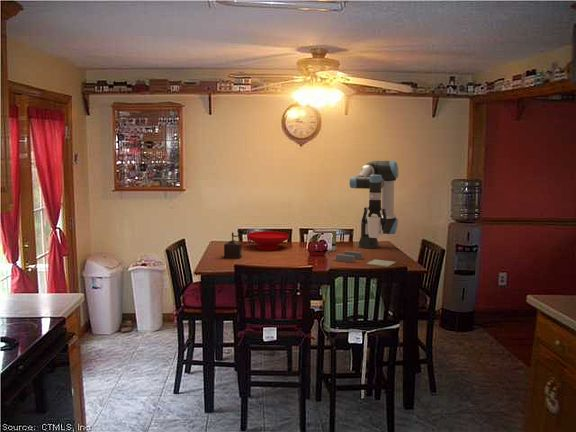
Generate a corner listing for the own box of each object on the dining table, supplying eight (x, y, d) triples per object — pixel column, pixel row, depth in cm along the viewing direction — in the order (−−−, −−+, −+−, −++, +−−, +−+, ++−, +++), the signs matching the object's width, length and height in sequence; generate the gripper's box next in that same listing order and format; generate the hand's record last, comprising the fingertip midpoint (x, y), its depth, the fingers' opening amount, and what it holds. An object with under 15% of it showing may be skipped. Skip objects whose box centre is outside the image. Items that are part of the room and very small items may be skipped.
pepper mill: (240, 259, 341) (240, 231, 339) (223, 258, 342) (223, 231, 340) (244, 254, 356) (243, 228, 354) (227, 254, 357) (227, 228, 355)
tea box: (316, 251, 369) (316, 231, 367) (311, 249, 379) (312, 229, 377) (336, 250, 373) (336, 230, 371) (331, 248, 383) (331, 228, 381)
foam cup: (379, 236, 336) (380, 216, 334) (382, 238, 326) (383, 217, 325) (365, 236, 335) (365, 215, 334) (367, 238, 326) (368, 217, 325)
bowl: (249, 244, 398) (249, 231, 397) (289, 244, 397) (289, 231, 396) (244, 251, 368) (244, 237, 367) (288, 252, 367) (288, 238, 366)
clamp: (343, 256, 353) (343, 250, 352) (362, 258, 346) (362, 252, 345) (333, 260, 339) (333, 254, 339) (352, 262, 332) (353, 256, 332)
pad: (375, 260, 340) (375, 259, 340) (395, 262, 333) (395, 261, 333) (366, 264, 328) (366, 263, 328) (388, 266, 321) (388, 265, 321)
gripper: (356, 198, 331) (355, 233, 334) (389, 200, 319) (388, 236, 322) (361, 198, 338) (360, 232, 340) (394, 199, 326) (392, 235, 328)
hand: (374, 234), depth 331 cm, fingers closed on foam cup, 9 cm apart
